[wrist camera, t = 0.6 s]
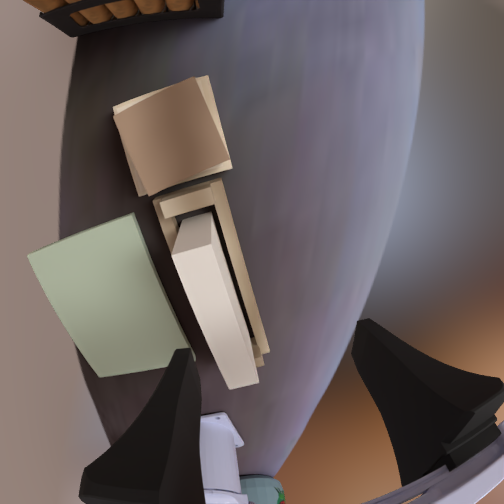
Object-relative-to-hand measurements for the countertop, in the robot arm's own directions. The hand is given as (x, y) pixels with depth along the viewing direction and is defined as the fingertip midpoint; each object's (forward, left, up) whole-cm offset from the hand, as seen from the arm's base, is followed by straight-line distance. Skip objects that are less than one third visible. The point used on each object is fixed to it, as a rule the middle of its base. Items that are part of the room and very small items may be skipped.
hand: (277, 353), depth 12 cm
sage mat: (-12, -1, -10) cm, 15 cm away
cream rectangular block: (-3, -1, -10) cm, 10 cm away
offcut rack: (-3, +2, -10) cm, 10 cm away
